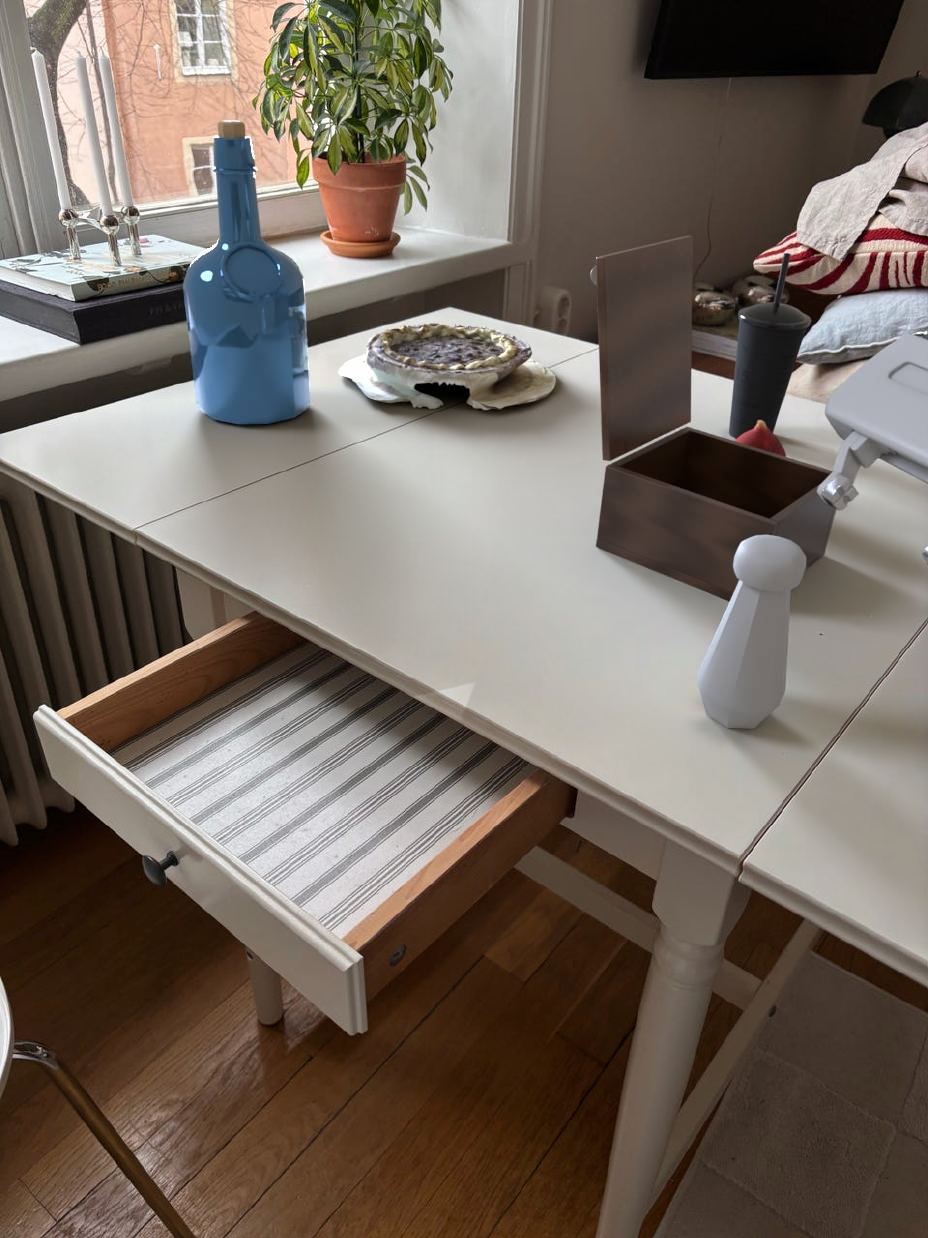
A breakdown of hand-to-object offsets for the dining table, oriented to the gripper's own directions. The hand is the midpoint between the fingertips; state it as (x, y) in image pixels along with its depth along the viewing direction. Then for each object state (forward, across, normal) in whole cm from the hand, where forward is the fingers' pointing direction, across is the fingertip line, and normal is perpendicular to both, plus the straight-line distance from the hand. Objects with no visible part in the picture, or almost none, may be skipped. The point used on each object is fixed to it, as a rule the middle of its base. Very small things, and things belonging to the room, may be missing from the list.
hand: (877, 532), depth 60 cm
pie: (+9, -73, +9) cm, 74 cm away
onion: (-2, -30, +20) cm, 37 cm away
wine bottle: (+28, -69, -9) cm, 75 cm away
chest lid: (-3, -30, -1) cm, 30 cm away
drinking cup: (-9, -45, +28) cm, 53 cm away
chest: (+6, -22, +13) cm, 26 cm away
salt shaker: (+14, -1, +5) cm, 15 cm away
